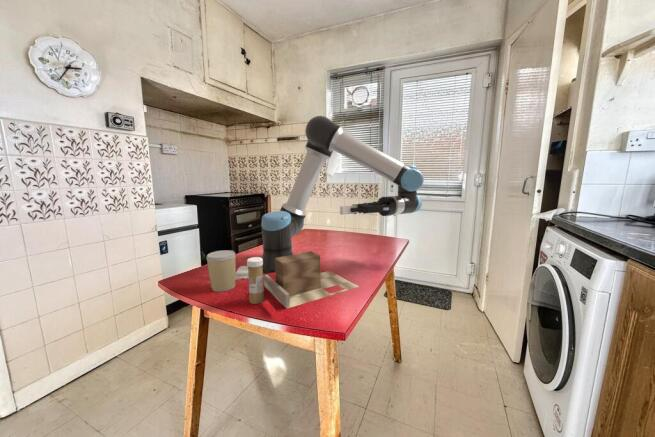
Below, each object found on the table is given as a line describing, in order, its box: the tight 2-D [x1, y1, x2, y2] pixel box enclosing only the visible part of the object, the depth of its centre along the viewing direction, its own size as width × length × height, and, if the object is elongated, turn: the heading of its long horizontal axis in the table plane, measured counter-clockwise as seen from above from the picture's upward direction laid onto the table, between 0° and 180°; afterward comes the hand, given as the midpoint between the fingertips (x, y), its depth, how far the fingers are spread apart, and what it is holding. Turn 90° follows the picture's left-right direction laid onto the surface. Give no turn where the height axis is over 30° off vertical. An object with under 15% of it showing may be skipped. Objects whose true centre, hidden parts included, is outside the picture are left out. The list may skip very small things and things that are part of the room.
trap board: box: [263, 270, 360, 310], centre depth 85 cm, size 26×18×6 cm
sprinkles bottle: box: [246, 256, 265, 305], centre depth 78 cm, size 5×5×14 cm
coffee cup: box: [205, 249, 237, 293], centre depth 89 cm, size 9×9×12 cm
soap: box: [235, 265, 249, 280], centre depth 101 cm, size 9×7×3 cm
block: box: [274, 250, 321, 296], centre depth 82 cm, size 13×6×11 cm, turn 123°
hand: (341, 210), depth 88 cm, fingers closed
